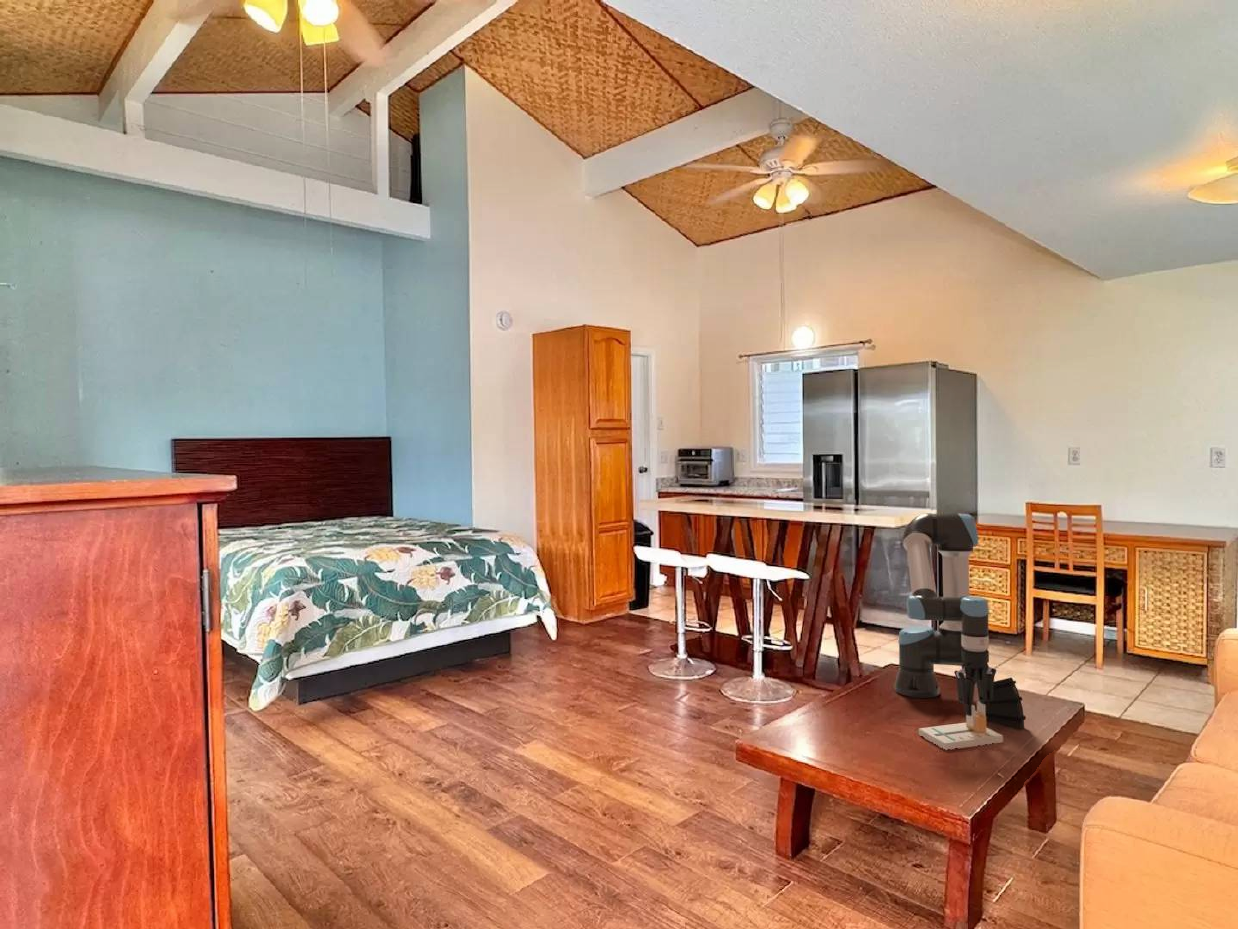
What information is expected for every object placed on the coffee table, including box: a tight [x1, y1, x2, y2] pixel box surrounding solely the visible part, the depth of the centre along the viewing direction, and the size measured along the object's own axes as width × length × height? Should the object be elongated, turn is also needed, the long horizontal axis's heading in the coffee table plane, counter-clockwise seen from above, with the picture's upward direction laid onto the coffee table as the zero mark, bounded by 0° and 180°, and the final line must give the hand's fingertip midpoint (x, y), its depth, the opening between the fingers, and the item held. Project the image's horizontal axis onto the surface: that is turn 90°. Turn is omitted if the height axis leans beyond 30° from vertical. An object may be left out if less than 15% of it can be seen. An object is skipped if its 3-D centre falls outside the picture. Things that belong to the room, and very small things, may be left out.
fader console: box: [918, 722, 1004, 751], centre depth 220 cm, size 12×20×2 cm, turn 104°
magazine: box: [985, 677, 1027, 730], centre depth 231 cm, size 4×13×15 cm, turn 38°
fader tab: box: [965, 710, 987, 733], centre depth 221 cm, size 5×3×5 cm, turn 14°
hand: (976, 725), depth 221 cm, fingers closed on fader tab, 3 cm apart
